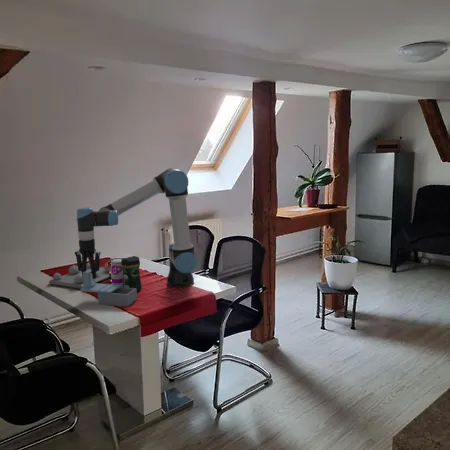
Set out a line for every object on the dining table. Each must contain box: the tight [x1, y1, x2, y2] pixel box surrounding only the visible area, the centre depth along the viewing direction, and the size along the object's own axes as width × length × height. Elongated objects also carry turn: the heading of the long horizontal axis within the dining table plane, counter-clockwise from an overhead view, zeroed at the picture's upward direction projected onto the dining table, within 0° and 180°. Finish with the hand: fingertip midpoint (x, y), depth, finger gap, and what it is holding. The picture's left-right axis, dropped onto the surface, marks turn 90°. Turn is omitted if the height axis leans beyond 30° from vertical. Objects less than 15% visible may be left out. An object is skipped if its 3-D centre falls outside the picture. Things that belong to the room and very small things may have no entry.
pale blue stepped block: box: [79, 269, 121, 293], centre depth 225 cm, size 17×11×9 cm, turn 76°
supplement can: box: [110, 258, 123, 287], centre depth 248 cm, size 8×8×15 cm
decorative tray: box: [48, 261, 110, 290], centre depth 263 cm, size 35×26×10 cm
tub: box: [97, 287, 138, 307], centre depth 224 cm, size 16×10×6 cm, turn 76°
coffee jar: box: [121, 255, 143, 292], centre depth 240 cm, size 10×8×19 cm
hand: (89, 284), depth 227 cm, fingers closed on pale blue stepped block, 3 cm apart
